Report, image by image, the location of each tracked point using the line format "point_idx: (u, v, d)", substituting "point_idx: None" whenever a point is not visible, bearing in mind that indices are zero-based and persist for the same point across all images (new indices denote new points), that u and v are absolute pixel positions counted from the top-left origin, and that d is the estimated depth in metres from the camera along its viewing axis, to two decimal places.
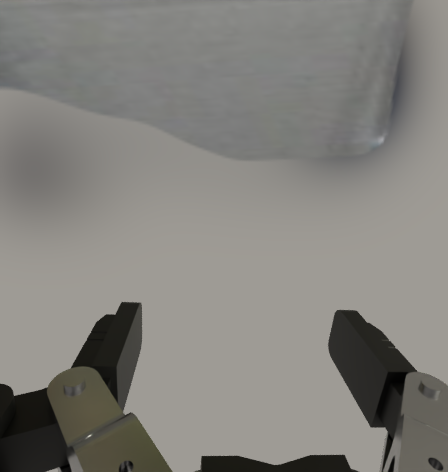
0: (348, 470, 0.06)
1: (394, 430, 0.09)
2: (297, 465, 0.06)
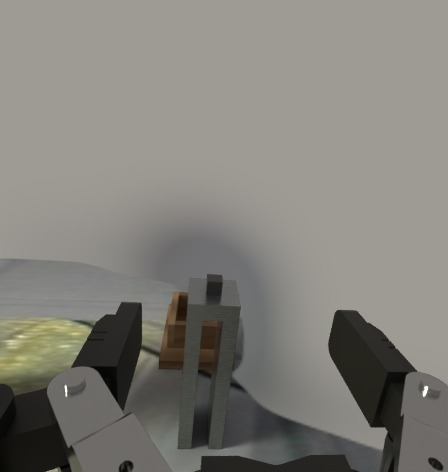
0: (348, 470, 0.06)
1: (394, 430, 0.09)
2: (297, 466, 0.06)
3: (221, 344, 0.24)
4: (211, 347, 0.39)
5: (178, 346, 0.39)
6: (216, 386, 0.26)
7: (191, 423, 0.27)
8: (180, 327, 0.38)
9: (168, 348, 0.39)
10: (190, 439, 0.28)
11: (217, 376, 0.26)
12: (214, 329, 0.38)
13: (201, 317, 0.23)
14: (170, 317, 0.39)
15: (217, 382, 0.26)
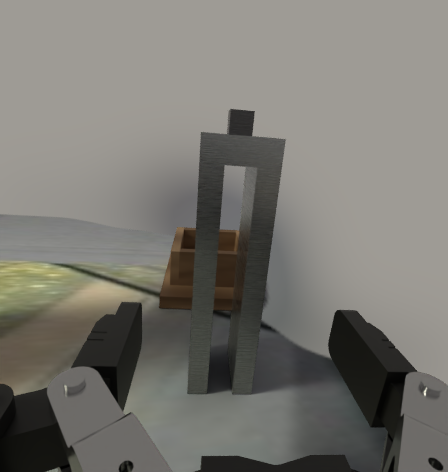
0: (348, 470, 0.06)
1: (394, 430, 0.09)
2: (297, 466, 0.06)
3: (253, 211, 0.16)
4: (227, 284, 0.30)
5: (184, 282, 0.30)
6: (245, 287, 0.17)
7: (207, 351, 0.18)
8: (187, 255, 0.29)
9: (171, 285, 0.30)
10: (206, 378, 0.19)
11: (247, 269, 0.17)
12: (231, 258, 0.29)
13: (223, 159, 0.15)
14: (173, 245, 0.30)
15: (247, 280, 0.17)
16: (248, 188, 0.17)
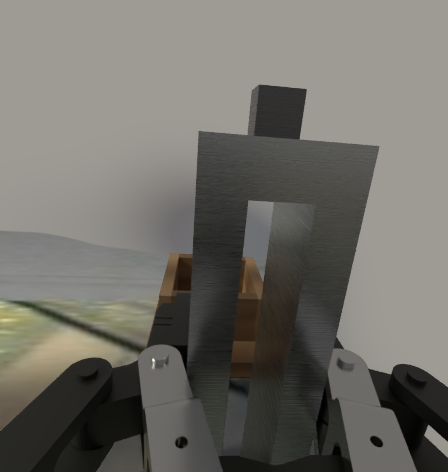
0: None
1: (320, 408, 0.10)
2: (297, 465, 0.06)
3: (304, 288, 0.08)
4: (236, 337, 0.22)
5: None
6: (280, 417, 0.09)
7: None
8: None
9: None
10: None
11: (285, 388, 0.09)
12: (241, 304, 0.21)
13: (245, 188, 0.07)
14: (163, 285, 0.22)
15: (284, 405, 0.09)
16: (285, 233, 0.10)
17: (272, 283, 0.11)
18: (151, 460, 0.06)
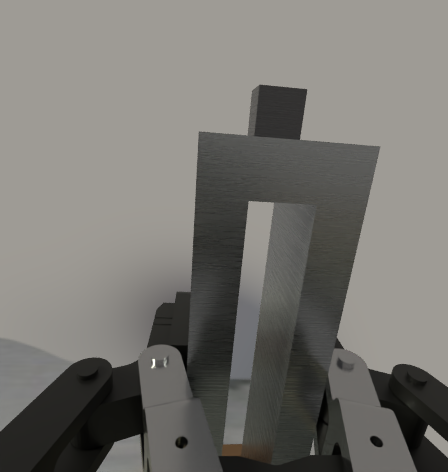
0: None
1: (320, 408, 0.10)
2: (297, 466, 0.06)
3: (304, 288, 0.08)
4: None
5: None
6: (281, 418, 0.09)
7: None
8: None
9: None
10: None
11: (285, 389, 0.09)
12: None
13: (246, 188, 0.07)
14: None
15: (285, 406, 0.09)
16: (285, 234, 0.10)
17: (272, 284, 0.11)
18: (151, 460, 0.06)
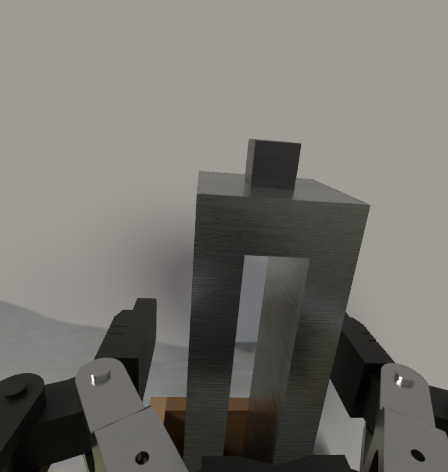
0: (348, 470, 0.06)
1: (372, 421, 0.09)
2: (297, 466, 0.06)
3: (298, 333, 0.08)
4: None
5: None
6: (277, 451, 0.10)
7: None
8: None
9: None
10: None
11: (281, 425, 0.09)
12: None
13: (242, 244, 0.07)
14: None
15: (280, 441, 0.09)
16: (281, 273, 0.10)
17: (269, 317, 0.11)
18: None
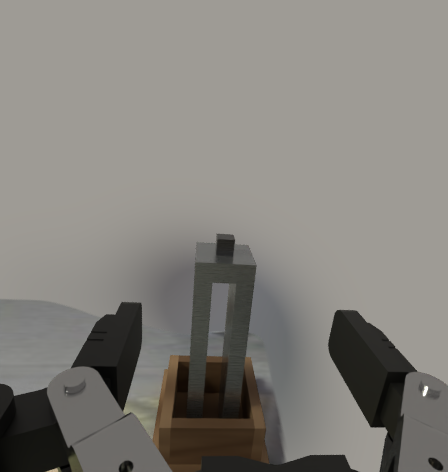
0: (348, 470, 0.06)
1: (394, 430, 0.09)
2: (297, 465, 0.06)
3: (234, 312, 0.21)
4: None
5: (177, 461, 0.23)
6: (229, 364, 0.22)
7: (200, 411, 0.24)
8: (180, 431, 0.22)
9: None
10: None
11: (230, 352, 0.22)
12: (238, 433, 0.22)
13: (211, 278, 0.20)
14: (163, 410, 0.23)
15: (230, 359, 0.22)
16: (231, 288, 0.23)
17: (228, 308, 0.24)
18: None
